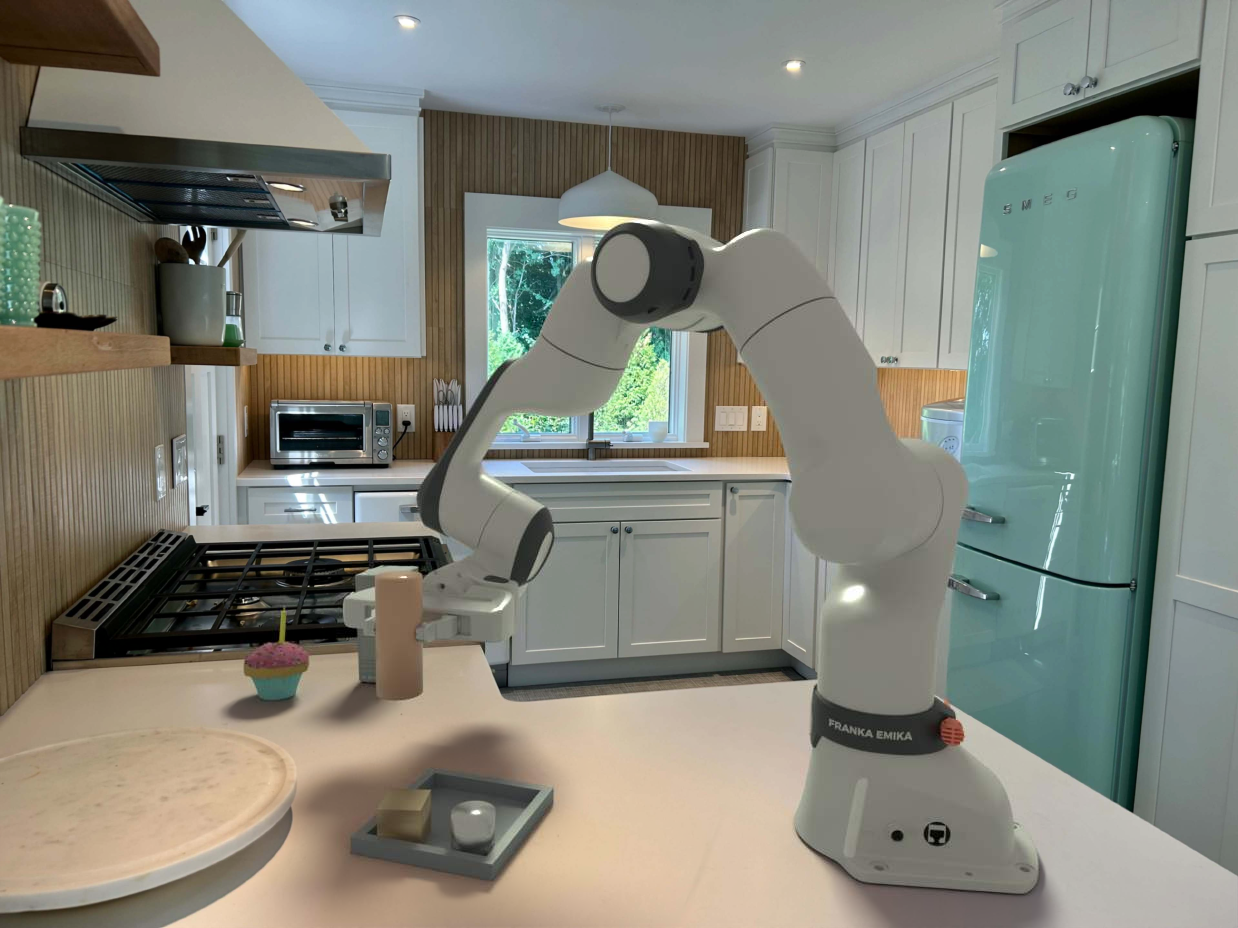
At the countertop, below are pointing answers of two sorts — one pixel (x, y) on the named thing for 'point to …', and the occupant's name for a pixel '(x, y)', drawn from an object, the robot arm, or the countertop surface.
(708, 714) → the countertop surface
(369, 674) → the skincare box
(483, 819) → the part metal
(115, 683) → the countertop surface
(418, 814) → the part oak
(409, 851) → the parts tray
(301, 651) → the cupcake
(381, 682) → the canister
